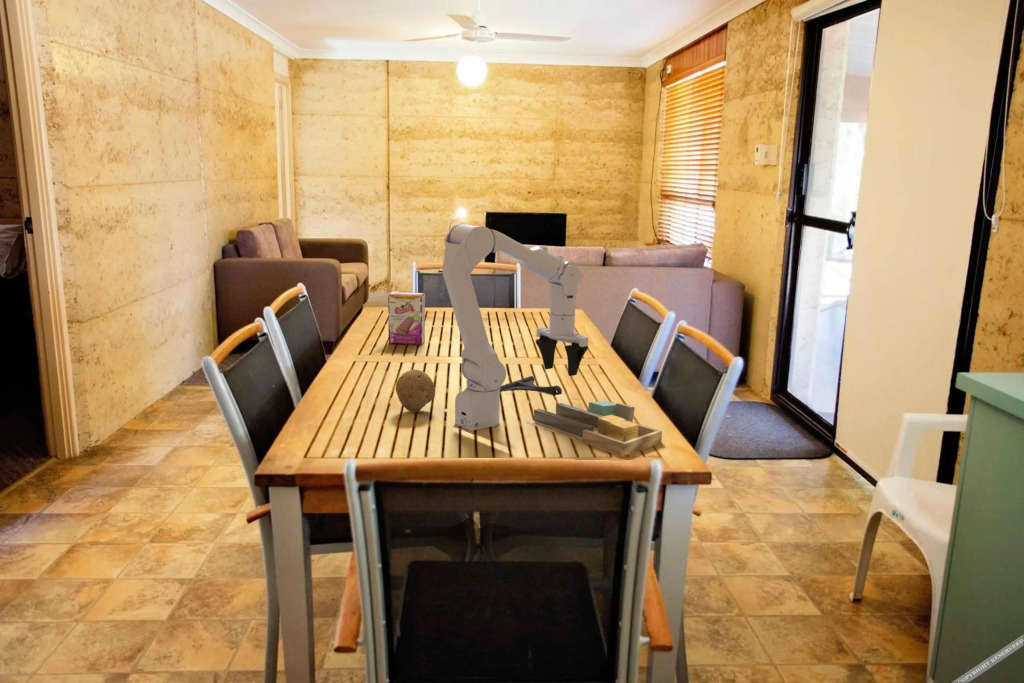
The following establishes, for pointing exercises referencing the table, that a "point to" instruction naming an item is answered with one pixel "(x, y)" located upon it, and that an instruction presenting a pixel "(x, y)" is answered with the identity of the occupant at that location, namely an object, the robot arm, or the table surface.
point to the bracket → (530, 386)
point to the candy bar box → (406, 318)
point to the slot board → (592, 430)
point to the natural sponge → (415, 390)
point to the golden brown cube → (606, 424)
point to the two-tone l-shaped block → (612, 409)
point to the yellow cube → (623, 430)
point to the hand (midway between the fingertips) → (560, 371)
